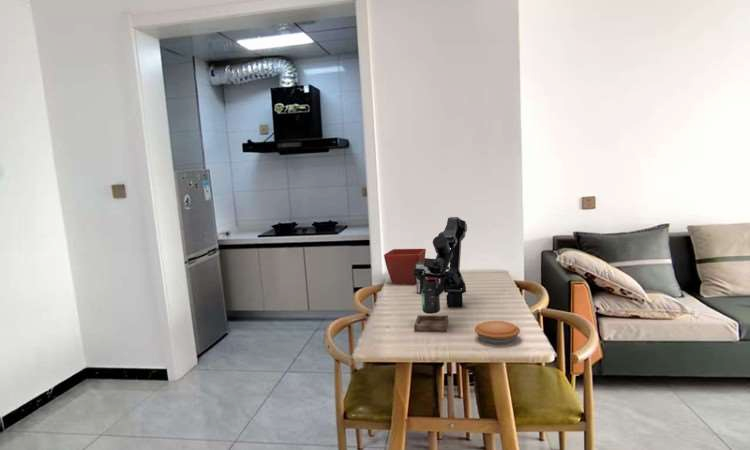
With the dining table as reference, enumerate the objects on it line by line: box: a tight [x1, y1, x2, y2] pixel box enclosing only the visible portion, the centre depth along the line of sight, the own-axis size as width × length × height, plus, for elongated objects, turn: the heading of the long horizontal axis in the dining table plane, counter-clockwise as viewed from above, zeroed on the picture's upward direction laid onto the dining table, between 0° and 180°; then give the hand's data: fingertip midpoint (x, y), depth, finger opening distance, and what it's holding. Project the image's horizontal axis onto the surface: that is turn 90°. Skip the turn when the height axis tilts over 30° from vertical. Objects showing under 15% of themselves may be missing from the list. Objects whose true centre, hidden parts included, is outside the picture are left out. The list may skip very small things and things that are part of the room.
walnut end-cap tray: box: [413, 314, 449, 333], centre depth 181 cm, size 12×12×2 cm
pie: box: [474, 320, 521, 345], centre depth 164 cm, size 15×16×5 cm
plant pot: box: [383, 248, 427, 285], centre depth 255 cm, size 19×19×17 cm
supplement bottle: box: [420, 279, 441, 315], centre depth 180 cm, size 7×7×12 cm
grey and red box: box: [415, 262, 440, 295], centre depth 229 cm, size 11×4×15 cm, turn 68°
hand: (428, 295), depth 179 cm, fingers closed on supplement bottle, 7 cm apart
